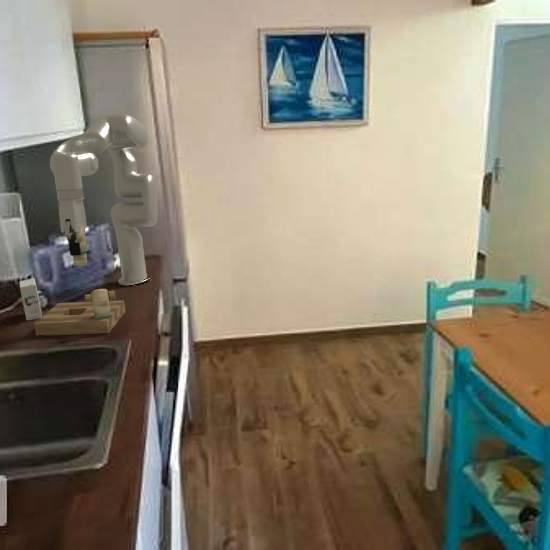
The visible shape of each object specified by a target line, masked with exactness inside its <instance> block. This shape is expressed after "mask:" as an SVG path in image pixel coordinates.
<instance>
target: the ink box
mask: <svg viewBox="0 0 550 550" xmlns="http://www.w3.org/2000/svg"><path fill="white" fill-rule="evenodd" d="M19 289H20V290H19V291H20V294H21V300H22V301H21V302H22V305H23V310H24V314H25V319H26V321H31V320H39V319H40V318H41V317H43V313H42V308H41V304H40V303H41V302H40V298H39V292H38V287H37V284H36V279H35V278H28V279H24V280H19Z"/></svg>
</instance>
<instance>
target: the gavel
mask: <svg viewBox="0 0 550 550" xmlns="http://www.w3.org/2000/svg"><path fill="white" fill-rule="evenodd" d="M97 289H102V288H101V286H95V287H94V290H97ZM107 291H108V290H107ZM108 298H109V301H117V300H116V292H115V290H109V291H108ZM84 299H85V300H84V302H92V297H91V293H88V294H87V293H86V294H84Z"/></svg>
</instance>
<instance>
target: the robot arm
mask: <svg viewBox="0 0 550 550" xmlns="http://www.w3.org/2000/svg"><path fill="white" fill-rule="evenodd" d="M148 142H149V134H148V130H147V129H146V127H145V126H144V125H143V124H142V123H141V122H140V121H138V120H137V119H136V118H134V117H133V116H131V115H130V114H126V113H120V114H119V113H117V114H114V113H113V114H102V115H99V116H98V117H96V118H95V119H94V120H93V121H92V122H91V123H90V125H89V127H88V128H87V129H86V130H85V131H84V133H83V132H82V133H81V134H79V135H76V136H74V137H72V138H71V139H68V140H66V141H64V142H62V143H61V144H60V145H59V146H57V147H56V149H55V150H54V151H53V152H52V154H51V157H50V160H49V168H50V170H51V172H52V173H53V176H54V181H55V182H54V183H55V184H54V185H55V189H56V196H57V201H58V215H59V226H60V232H61V234H64V236H65V237H66V239H67V243H68V250H69V255H70V256H71V257H73V256H76V255H81V249H80V243H79V242H78V232H80V231H81V227H83V226H84V232H85V233H86V228H87V226H88V225H87V224H88V223H87V216H86V211H85V205H84V199H85V194H84V189H83V188H84V186H83V182H82V181H83V179H82V177H88V176H93V175H94V174H96V172H98V170H99V159H98V158H97V156H98V155H102V154H103V153H105V152H106V150H107V151H108V152H109V155H110V156H111V159H112V162H113V179H114V180H113V181H114V185H113V186H114V193H115V195H116V197H117V198H119V199H123V200H127V199H128V200H129V199H130V200H133V199H135V200H136V199H142V200H143V201H136V202H135V201H129V202H127V201H125V202H118V203H116V204H114V205H113V206H112V207H111V210H110V218H111V220H112V224H113V227H114V231H115V236H116V241H117V249H118V256H119V265H120V271H121V277H120V278H119V279H118V281H117V282H118V284H119V285H121V286H125V287H126V286H129V285H133V286H135V285H134V284H138V283H141V282H144V281H146V280H148V279H150V278H148V279H146V278H147V275H148V274H147V268H146V267H147V266H146V260H145V251H144V241H143V236H142V234H141V232H140V231H139V230H138V229H137V228H149V227H150V228H151V227H154V226H155V225H156V224H157V222H158V217H159V216H158V215H159V213H158V212H159V210H158V207H159V205H158V184H157V180H156V178H155V176H154V175H152V174H151V173H145V172H143V173H142V172H141V173H140V172H139V173H138V163H137V159H136V157H135V156H134V155H133V153H132V152H131V151H130V150H129V149H142V148H144V147H146V146H147V145H148ZM71 231H74V232H72V233H71ZM73 235H75V237H74V236H73ZM85 239H87V236H86V234H85ZM86 246H87V247H88V245H87V243H86ZM144 279H145V280H144Z"/></svg>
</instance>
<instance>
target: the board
mask: <svg viewBox="0 0 550 550" xmlns="http://www.w3.org/2000/svg"><path fill="white" fill-rule="evenodd" d="M90 295H91V297H92V302H85V301H81V302H80V301H79V302H58V303H56V304H55V305H54V307H52V308H51V309H49V310H48V311H47V312H46V313H45V314H44V315H42V317H41V318H38V319H37V320H36V321H35V322H34V323H33V324H34V325H33V326H34V331H35V336H36V337H39V336H38V335H45V336H63V335H64V336H65V335H66V336H69V335H87V334H88V335H91V334H92V335H93V334H94V335H95V334H110V332H111V330H112V329H113V328H114V327H115V326H116V324H117V323H118V322H119V320H121V318H122V317H123V316H124V314H125V313H126V306H125V301H124V300H116V301H109V298H108V289H106V288H101V289H97V290H95V289H94V290H92V291H91V292H90Z"/></svg>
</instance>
